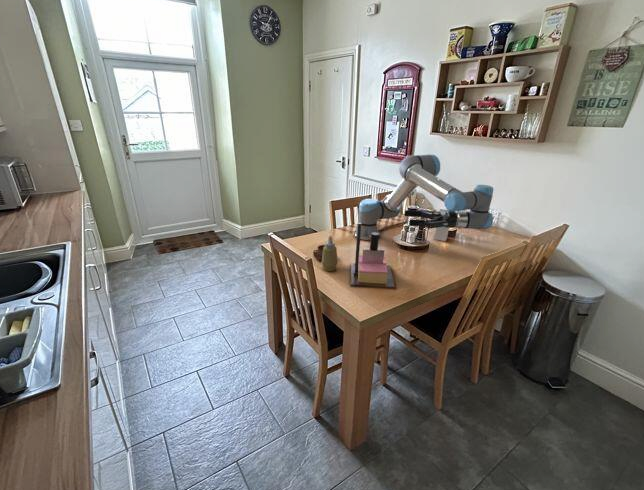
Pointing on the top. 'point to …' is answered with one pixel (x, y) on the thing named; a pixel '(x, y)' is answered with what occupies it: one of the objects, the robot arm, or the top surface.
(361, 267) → the cake
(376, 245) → the cutter
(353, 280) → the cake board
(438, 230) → the milk carton
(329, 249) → the squeeze bottle
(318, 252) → the cup and saucer
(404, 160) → the robot arm
